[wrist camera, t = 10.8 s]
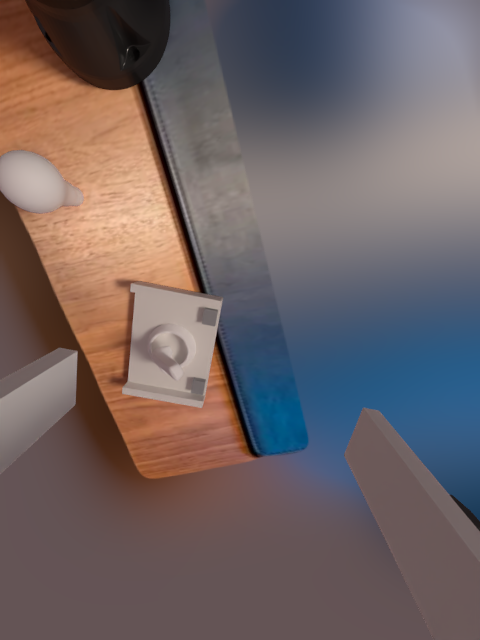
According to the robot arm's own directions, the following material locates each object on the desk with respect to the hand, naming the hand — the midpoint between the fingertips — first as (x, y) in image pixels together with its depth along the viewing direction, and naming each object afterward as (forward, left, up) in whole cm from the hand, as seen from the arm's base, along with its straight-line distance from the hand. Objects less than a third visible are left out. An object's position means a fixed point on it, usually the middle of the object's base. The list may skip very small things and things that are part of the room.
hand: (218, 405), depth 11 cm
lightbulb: (-9, -24, -29) cm, 39 cm away
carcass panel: (+10, -8, -28) cm, 31 cm away
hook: (+10, -8, -27) cm, 30 cm away
